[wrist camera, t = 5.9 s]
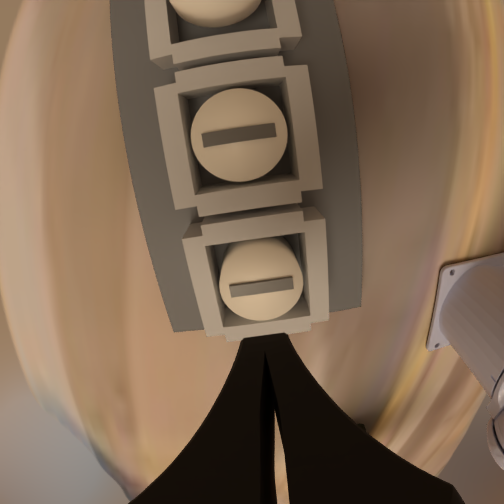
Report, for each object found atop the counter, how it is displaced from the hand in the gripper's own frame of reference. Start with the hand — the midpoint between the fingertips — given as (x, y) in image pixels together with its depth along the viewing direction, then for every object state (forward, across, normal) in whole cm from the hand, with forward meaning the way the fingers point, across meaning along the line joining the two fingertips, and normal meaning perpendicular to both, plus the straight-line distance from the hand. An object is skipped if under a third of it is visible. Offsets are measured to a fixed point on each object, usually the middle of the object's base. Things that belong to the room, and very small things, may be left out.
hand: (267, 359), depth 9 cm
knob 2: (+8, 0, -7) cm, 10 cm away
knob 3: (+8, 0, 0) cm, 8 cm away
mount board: (+10, 0, -6) cm, 12 cm away
